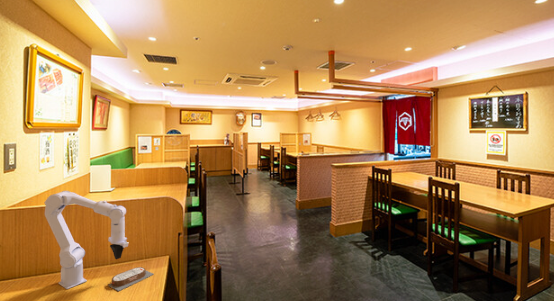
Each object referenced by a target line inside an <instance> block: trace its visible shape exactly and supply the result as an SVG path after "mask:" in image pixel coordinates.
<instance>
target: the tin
mask: <svg viewBox="0 0 554 301" xmlns="http://www.w3.org/2000/svg"><path fill="white" fill-rule="evenodd" d="M146 271H147V270H146V268H145V267H142V266H141V267H134V268H131V269H129V270H125V271H123V272H120V273H118V274H115V275H114V276H113V277H112V278H111V283H110V284H111V285H112V286H114V287H119V286H123V285H126V284H128V283H131V282H133V281H136V280H138V279H141V278H143V277H144V276H145V275H146Z"/></svg>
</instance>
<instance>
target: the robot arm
mask: <svg viewBox="0 0 554 301" xmlns="http://www.w3.org/2000/svg"><path fill="white" fill-rule="evenodd" d="M70 205H78V206H81V207H86V208H88V209H92V210H93V212H94V213H96V214H99V215H103V216H105V217H109V219H110V221H111V222H110V227H111V228H110V236H109V237H108V240H107V241H108V242H109V243H110V245H109V248H110V250H111V251H112V253H113V256H114V259H115V260H118V259H121V258H122V255H123V251H124V249H125V248H127V247H128V246H129V242H127V240H128V238H127V236H126V235H125V233H126V231H125V230H126V229H125V228H126V222H125V221H126V220H125V219H126V218H125V215H126V214H127V209H126V207H125V206H123V205H117V204H112V203H109V202H107V200H100V201H95V200H93V199H91V198H87V197H85V196H83V195H80V194H78V193H76V192H73V191H72V192H71V191H69V190H62V191H60V192H57V193H53V194H50V195H49V196H48V197H47V198H46V199H45V201H44V206H45V207H44V208H45V209H44V217H45V219H46V221H47V223H48V225H49V227H50V229H51V232H52V233H53V236H54V238H55V239H56V242H57V244H58V246H59V248H60V250H59V253H58V254H59V255H58V256H59V264H60V266H61V267H60V268H61V269H60V281H59V282H58V284H59V285H60V286H61V287H63V288H64V289H66V290H69V289H71V288H74V287H76V286H79V285H81V284H83V283H86V282H87V279H86V278H85V277H84V265H83V262H84V261H83V258H84V257H85V255H86V250H85V249H84V248H83V247H81V245H80V243H78V242H76V241H75V240H74V238H73V236H72V233H71V231H70V229H69V227H68V224H67V223H66V220H65V218H64V216H63V214H62V212H63V210H64V209H65V208H66V206H70ZM125 236H126V237H125Z"/></svg>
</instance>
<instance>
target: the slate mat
mask: <svg viewBox="0 0 554 301" xmlns="http://www.w3.org/2000/svg"><path fill="white" fill-rule="evenodd" d="M154 274H155V273H152V272H150V271H148V270H146V275H145V276H144V277H143V278H141V279H138V280H136V281H133V282H131V283H128V284H126V285H123V286H119V287H114V286H112V285H111V283H110V284H108V285H107V286H108V287H110V288H112V289H114V290H115V291H117V292H121V291H123V290H125V289H127V288H129V287H131V286H133V285H136V284H137V283H140V282H141V281H144V280H146V279H147V278H150V277H152V276H154Z"/></svg>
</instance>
